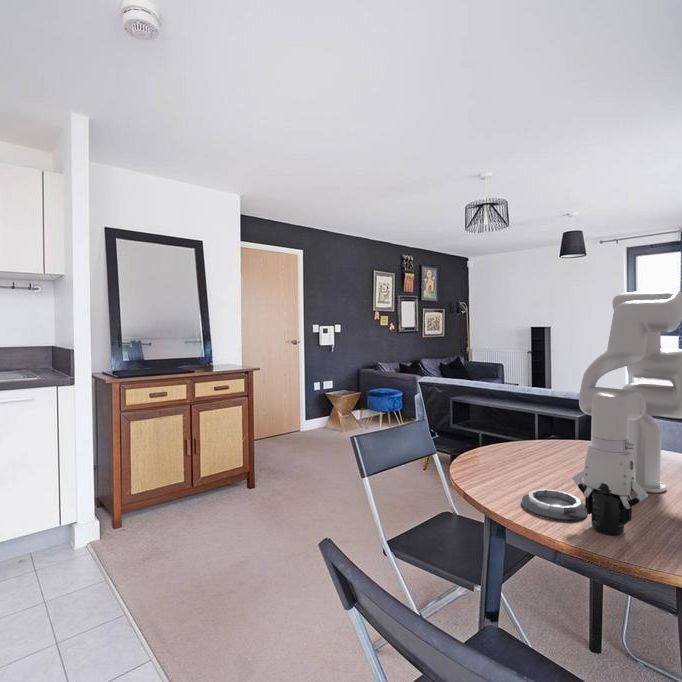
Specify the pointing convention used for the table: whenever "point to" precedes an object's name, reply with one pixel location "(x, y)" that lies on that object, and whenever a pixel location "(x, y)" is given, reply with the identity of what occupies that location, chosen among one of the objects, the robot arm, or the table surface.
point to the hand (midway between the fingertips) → (607, 517)
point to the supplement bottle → (606, 511)
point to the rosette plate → (554, 515)
